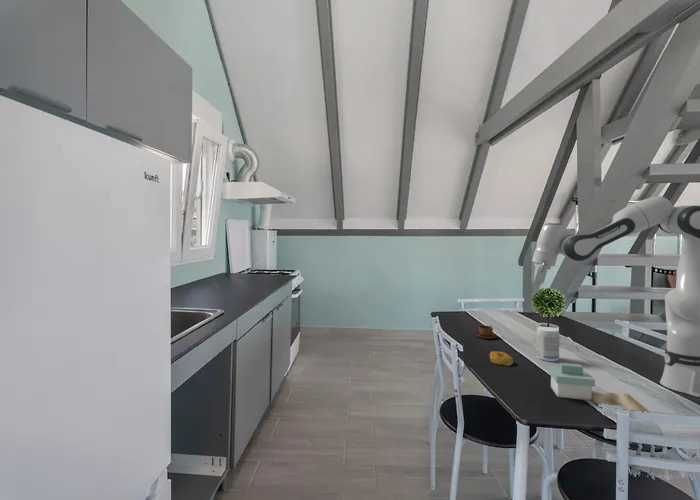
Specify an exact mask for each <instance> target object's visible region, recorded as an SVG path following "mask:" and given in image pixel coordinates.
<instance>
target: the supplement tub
mask: <svg viewBox="0 0 700 500" xmlns="http://www.w3.org/2000/svg"><path fill="white" fill-rule="evenodd" d="M536 357H537V358H538V359H539V360H542V361H546V362H558V361H559V360H560V330H559V329H558V328H557V327H556V328H555V327H552V326H551V327H550V326H538V327H537V330H536Z"/></svg>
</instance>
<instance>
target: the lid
mask: <svg viewBox="0 0 700 500" xmlns="http://www.w3.org/2000/svg"><path fill="white" fill-rule="evenodd" d="M548 374H549V376H550V377H551V376H552V378H553V379H554V380H555V382H556V383H563V384H573V385H583V386H592V387H594V388H595V386H596V378H594V377H593V376H591V375H592V374H590V373H589V372H588V371H587V370H585V369H584V367H583V366H582V365H581V364H579V363H567V362H559V366H550V365H549V366H548Z"/></svg>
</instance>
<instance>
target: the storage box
mask: <svg viewBox="0 0 700 500" xmlns="http://www.w3.org/2000/svg"><path fill="white" fill-rule="evenodd" d="M592 387H593V386H583V385H573V384H563V383H556V382H555V380H554V379H553V378H552V376H551V375H550V389H551V390H552V391H553V392H554V394H555V396H557V398H564V399H573V400H574V399H575V400H582V401H592V399H591V395H592V391H593V388H592Z"/></svg>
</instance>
